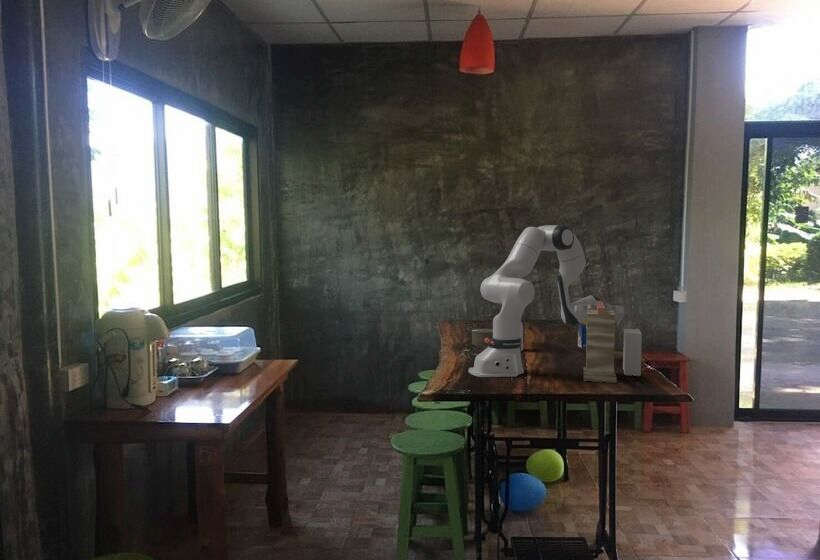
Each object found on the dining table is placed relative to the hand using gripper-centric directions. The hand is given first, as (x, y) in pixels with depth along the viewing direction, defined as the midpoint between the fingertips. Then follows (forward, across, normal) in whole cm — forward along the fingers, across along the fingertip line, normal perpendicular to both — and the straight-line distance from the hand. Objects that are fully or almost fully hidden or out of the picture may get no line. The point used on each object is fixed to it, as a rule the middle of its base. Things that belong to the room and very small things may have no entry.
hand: (599, 304), depth 262 cm
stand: (-2, 0, +30) cm, 30 cm away
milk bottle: (-44, -38, +7) cm, 58 cm away
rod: (+7, 0, +6) cm, 9 cm away
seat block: (-13, +13, +24) cm, 30 cm away
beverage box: (-59, -2, -2) cm, 59 cm away
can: (-57, -56, -1) cm, 80 cm away
